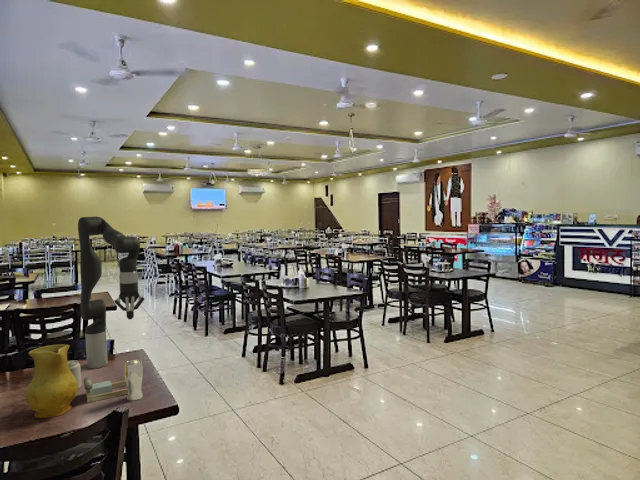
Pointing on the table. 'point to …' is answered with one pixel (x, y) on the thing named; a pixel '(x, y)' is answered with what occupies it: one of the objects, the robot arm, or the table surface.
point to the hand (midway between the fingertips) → (130, 318)
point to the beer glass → (133, 379)
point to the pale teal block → (101, 388)
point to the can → (75, 370)
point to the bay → (106, 395)
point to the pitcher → (51, 382)
